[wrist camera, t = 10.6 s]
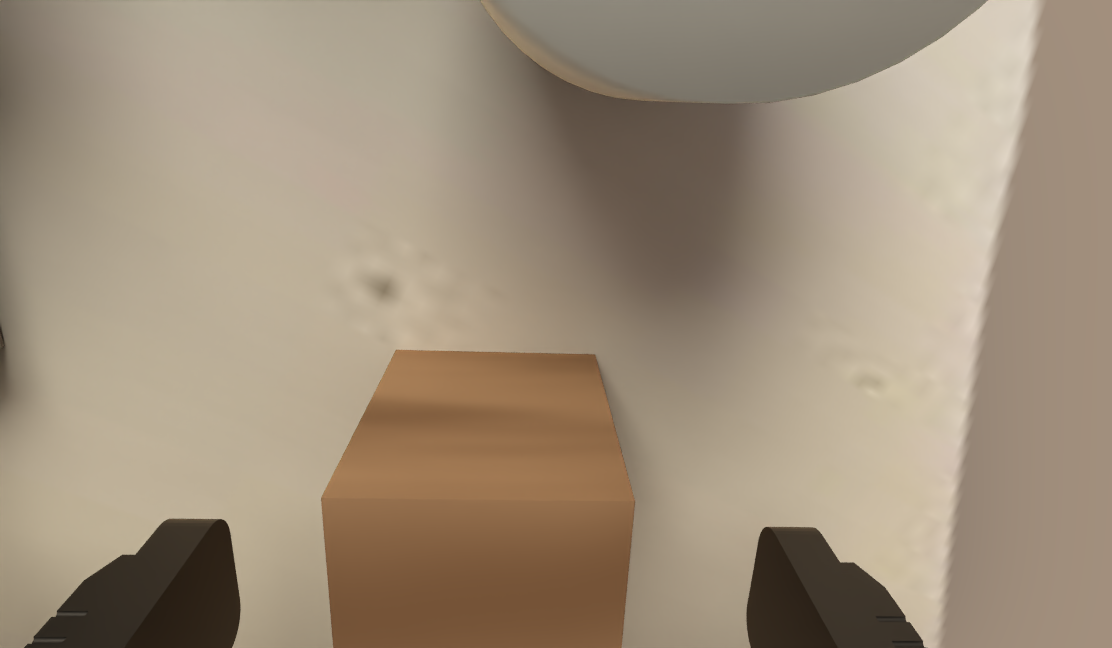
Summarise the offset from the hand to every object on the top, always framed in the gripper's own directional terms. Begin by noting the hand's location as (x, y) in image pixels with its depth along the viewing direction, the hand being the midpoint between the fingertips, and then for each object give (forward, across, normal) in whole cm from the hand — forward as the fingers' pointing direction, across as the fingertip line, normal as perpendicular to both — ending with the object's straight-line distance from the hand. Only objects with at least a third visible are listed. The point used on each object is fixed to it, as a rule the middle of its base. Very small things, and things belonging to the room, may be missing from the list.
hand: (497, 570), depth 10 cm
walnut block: (+5, 0, 0) cm, 5 cm away
